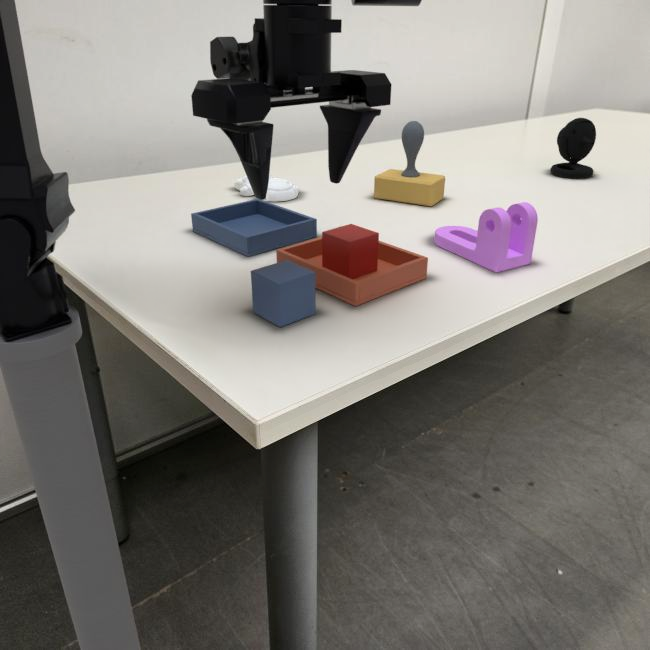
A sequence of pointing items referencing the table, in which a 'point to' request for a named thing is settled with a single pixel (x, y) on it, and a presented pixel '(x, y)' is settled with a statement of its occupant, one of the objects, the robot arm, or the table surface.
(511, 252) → the bracket
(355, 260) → the red block
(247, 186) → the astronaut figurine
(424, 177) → the rubber stamp
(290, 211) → the slate tray
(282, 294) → the blue block
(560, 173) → the webcam
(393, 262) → the terracotta tray
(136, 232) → the table surface
